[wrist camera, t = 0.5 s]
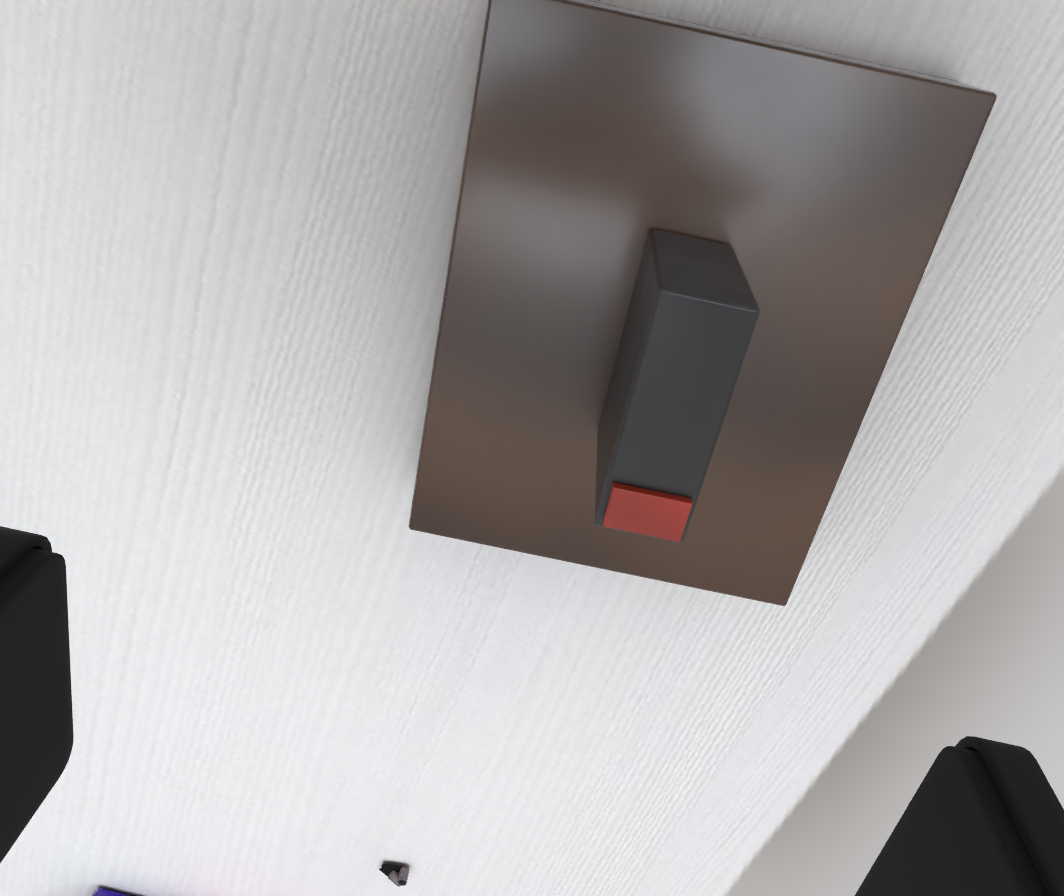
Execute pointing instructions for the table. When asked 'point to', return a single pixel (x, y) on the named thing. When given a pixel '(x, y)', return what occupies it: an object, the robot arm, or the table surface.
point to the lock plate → (615, 256)
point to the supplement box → (106, 893)
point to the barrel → (395, 873)
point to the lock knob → (671, 384)
